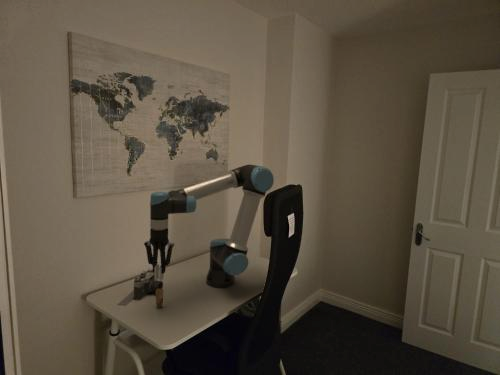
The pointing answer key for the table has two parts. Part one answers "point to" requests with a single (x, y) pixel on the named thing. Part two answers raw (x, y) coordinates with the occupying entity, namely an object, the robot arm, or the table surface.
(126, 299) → the strip
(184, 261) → the table surface
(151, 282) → the camera
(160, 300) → the brown rounded cylinder
